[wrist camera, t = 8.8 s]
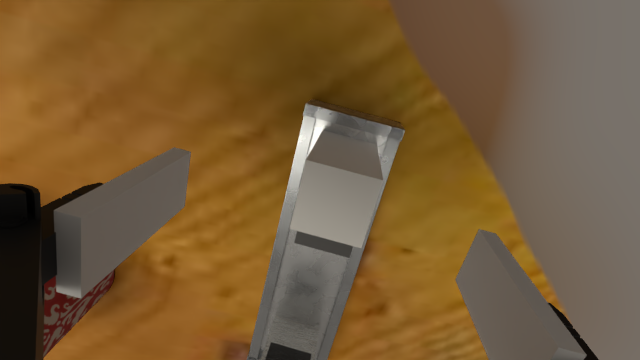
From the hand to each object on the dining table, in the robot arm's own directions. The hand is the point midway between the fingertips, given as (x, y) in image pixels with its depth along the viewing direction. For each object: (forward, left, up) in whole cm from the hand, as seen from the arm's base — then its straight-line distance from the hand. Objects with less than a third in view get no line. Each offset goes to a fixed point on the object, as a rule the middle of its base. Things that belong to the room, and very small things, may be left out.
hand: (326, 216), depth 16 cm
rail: (+9, 0, -13) cm, 16 cm away
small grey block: (0, 0, -11) cm, 11 cm away
